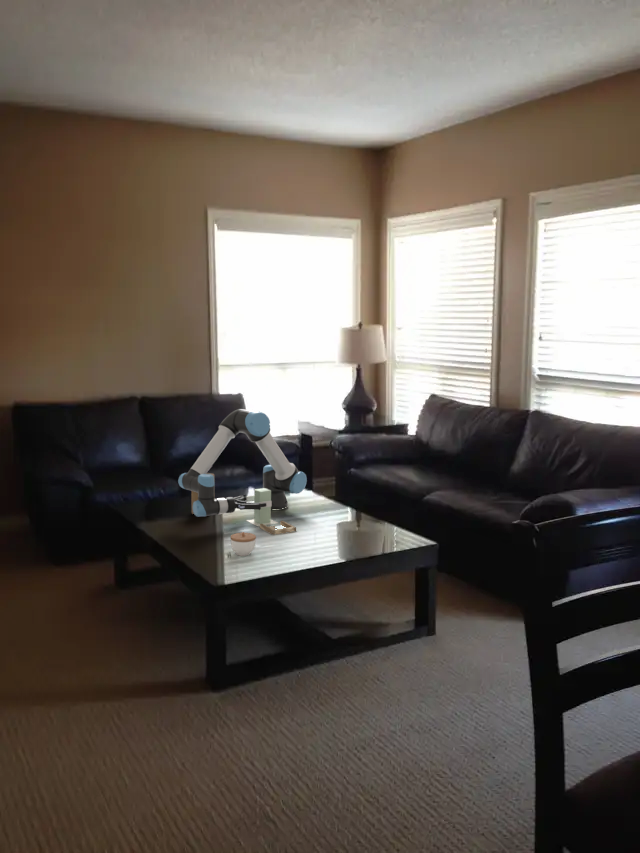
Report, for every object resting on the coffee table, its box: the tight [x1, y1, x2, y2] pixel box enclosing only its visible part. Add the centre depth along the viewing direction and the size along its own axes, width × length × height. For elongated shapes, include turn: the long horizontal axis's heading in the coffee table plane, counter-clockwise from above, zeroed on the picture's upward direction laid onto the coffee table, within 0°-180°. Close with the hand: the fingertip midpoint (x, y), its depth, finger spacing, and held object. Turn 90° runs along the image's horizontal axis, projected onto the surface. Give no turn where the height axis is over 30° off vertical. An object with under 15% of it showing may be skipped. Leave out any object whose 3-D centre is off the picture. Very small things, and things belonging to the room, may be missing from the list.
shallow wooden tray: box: [259, 520, 297, 536], centre depth 354 cm, size 12×13×2 cm
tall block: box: [253, 487, 272, 524], centre depth 366 cm, size 6×6×16 cm
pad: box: [245, 518, 279, 527], centre depth 367 cm, size 12×12×1 cm
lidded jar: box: [230, 531, 257, 557], centre depth 318 cm, size 11×11×9 cm
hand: (264, 500), depth 366 cm, fingers open, 13 cm apart
